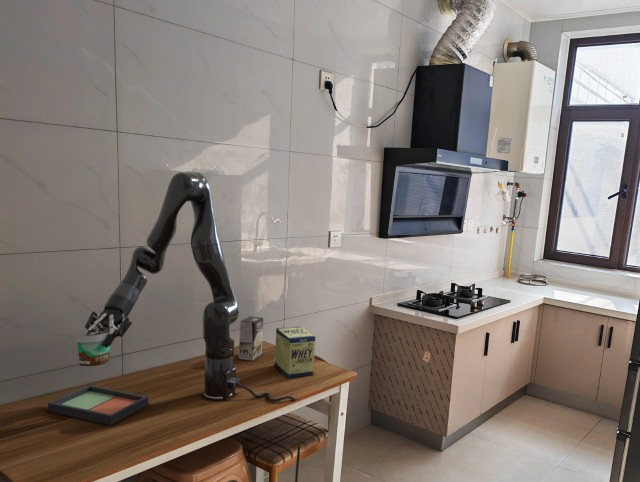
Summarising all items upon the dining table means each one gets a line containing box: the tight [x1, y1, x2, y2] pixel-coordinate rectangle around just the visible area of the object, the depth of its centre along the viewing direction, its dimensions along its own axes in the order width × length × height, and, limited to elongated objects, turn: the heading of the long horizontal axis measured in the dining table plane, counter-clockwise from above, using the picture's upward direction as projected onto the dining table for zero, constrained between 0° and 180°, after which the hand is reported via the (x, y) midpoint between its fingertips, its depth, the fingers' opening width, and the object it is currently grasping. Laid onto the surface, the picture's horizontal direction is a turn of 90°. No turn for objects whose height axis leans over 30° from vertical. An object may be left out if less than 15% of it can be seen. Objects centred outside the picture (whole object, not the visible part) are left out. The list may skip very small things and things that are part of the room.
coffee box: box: [238, 315, 264, 362], centre depth 225 cm, size 9×6×16 cm
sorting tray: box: [47, 384, 149, 426], centre depth 169 cm, size 22×16×3 cm
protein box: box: [273, 326, 316, 379], centre depth 215 cm, size 10×16×16 cm
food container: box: [75, 327, 111, 367], centre depth 170 cm, size 12×6×10 cm, turn 168°
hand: (95, 344), depth 169 cm, fingers closed on food container, 6 cm apart
